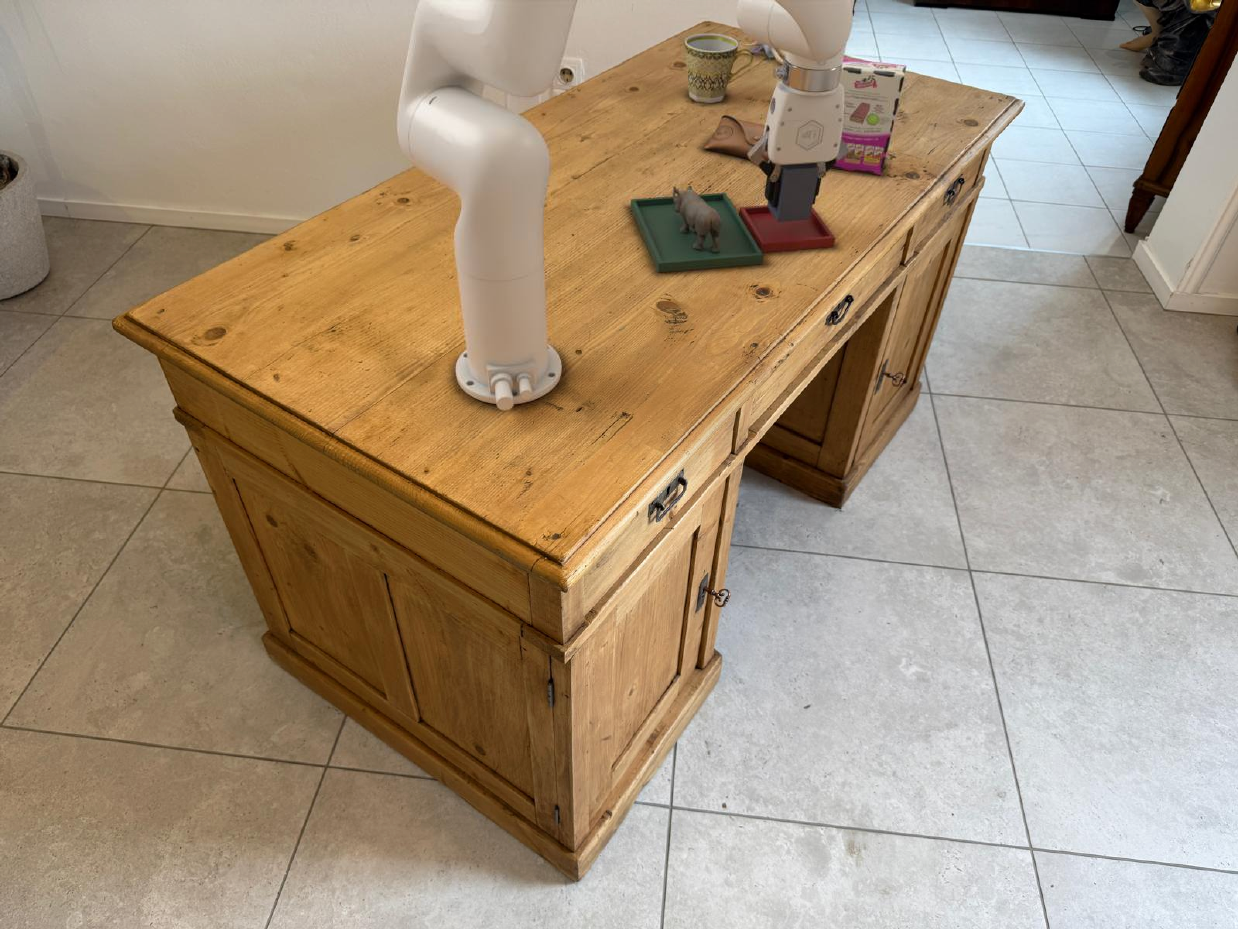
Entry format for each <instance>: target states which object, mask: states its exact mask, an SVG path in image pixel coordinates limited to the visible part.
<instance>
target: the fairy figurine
mask: <svg viewBox="0 0 1238 929" xmlns="http://www.w3.org/2000/svg"><path fill="white" fill-rule="evenodd" d="M750 39H751V38H750ZM741 47H748V48H750V47H752V48H751V49H750V50H749V51H750V52H751V54H753V53H758V52H759V51H761V49H762V50H764V52H765V54H766V57H768V58H769V59H773V58H775V60H776V61H777V62H779V63H780V64H781V65H782V64H783V58H785V56H786V51H784V50H781V49H776V48H773V47H771V46H768V45H765V44H762V43H759V42H756V41H754V40H752V39H751V43H745V42H741ZM754 47H755V48H754ZM752 49H753V50H752ZM779 54H780V55H779ZM781 56H782V57H783V58H782V57H781Z"/></svg>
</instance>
